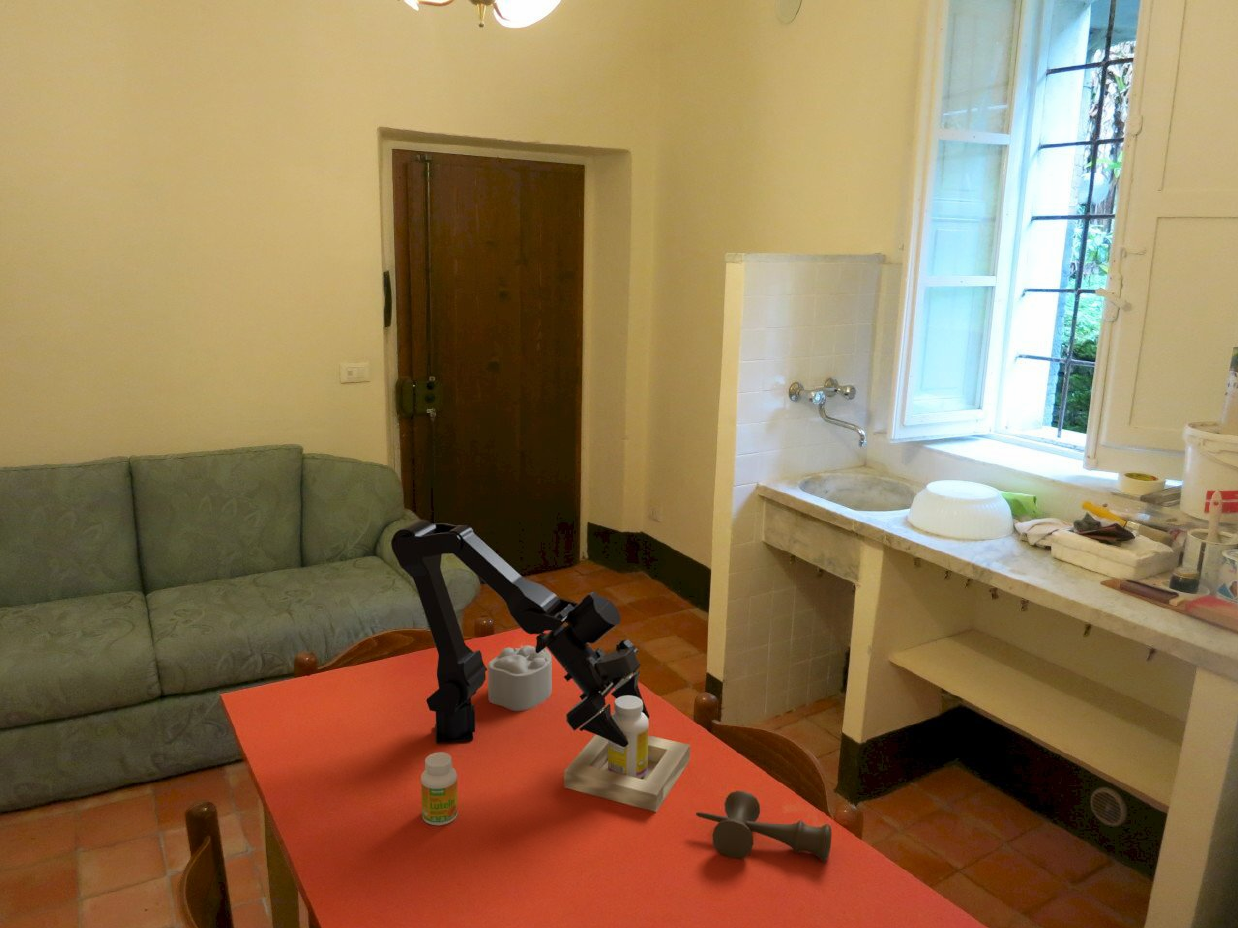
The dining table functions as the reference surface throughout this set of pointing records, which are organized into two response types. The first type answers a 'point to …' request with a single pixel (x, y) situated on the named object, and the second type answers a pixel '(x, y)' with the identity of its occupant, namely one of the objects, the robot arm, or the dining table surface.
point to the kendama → (762, 829)
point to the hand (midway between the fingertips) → (637, 731)
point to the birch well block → (642, 793)
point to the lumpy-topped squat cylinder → (520, 678)
